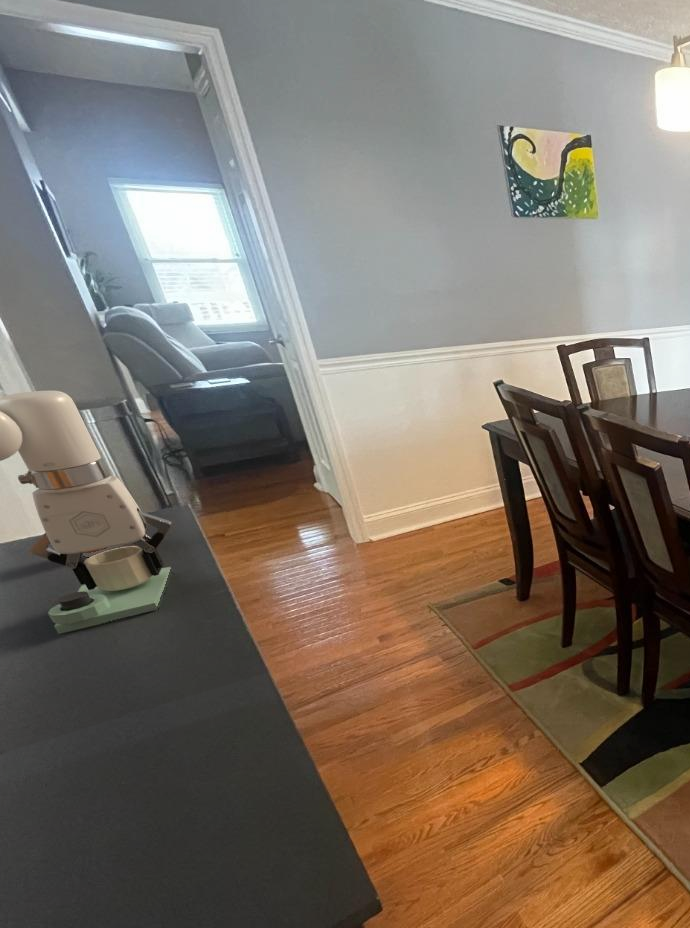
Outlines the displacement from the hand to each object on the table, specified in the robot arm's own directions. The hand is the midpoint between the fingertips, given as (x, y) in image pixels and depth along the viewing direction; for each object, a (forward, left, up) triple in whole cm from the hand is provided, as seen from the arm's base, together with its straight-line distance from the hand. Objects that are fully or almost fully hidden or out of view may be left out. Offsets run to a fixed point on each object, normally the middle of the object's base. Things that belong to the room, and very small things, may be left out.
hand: (126, 578), depth 97 cm
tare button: (-4, -8, 0) cm, 9 cm away
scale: (-1, -3, -3) cm, 4 cm away
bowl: (0, 0, -1) cm, 1 cm away
